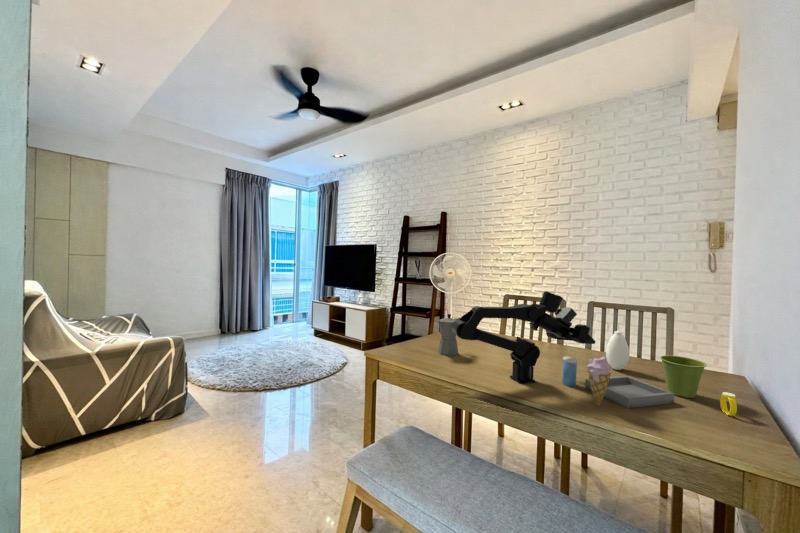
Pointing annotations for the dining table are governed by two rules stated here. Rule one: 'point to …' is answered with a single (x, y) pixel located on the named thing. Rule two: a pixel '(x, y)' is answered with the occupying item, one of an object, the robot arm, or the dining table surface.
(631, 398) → the tray
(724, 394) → the watch
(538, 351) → the robot arm
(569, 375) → the cylinder
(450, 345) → the coffeepot
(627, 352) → the white vase
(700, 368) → the plant pot
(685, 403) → the dining table surface
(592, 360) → the ice cream cone
